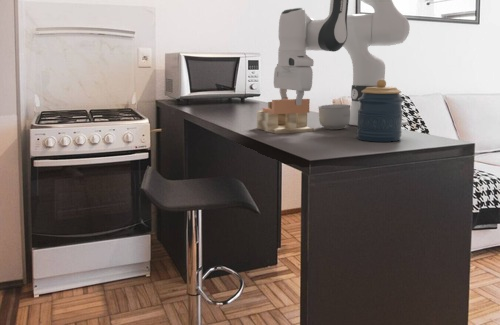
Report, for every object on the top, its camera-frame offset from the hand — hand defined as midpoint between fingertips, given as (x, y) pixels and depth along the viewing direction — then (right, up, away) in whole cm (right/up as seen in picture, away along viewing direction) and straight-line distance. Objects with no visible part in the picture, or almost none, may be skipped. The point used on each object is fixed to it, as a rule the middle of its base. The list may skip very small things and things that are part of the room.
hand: (291, 103), depth 160 cm
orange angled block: (-2, -2, +4) cm, 5 cm away
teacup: (+16, -7, +11) cm, 20 cm away
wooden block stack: (-2, -8, +5) cm, 10 cm away
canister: (+25, -12, -14) cm, 31 cm away
